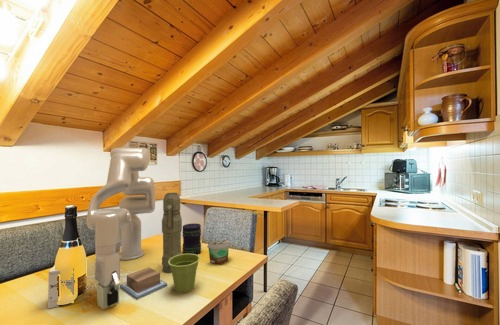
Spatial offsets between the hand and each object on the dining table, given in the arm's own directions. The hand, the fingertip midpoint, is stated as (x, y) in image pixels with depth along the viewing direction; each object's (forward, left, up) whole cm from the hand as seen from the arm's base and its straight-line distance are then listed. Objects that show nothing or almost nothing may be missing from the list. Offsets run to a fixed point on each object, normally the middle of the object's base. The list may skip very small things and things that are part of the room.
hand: (108, 299), depth 80 cm
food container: (+7, +48, -1) cm, 49 cm away
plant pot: (+13, +22, -1) cm, 26 cm away
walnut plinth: (-1, +13, -1) cm, 13 cm away
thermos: (-6, +29, -1) cm, 30 cm away
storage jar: (-15, +47, -1) cm, 49 cm away
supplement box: (-14, -9, -1) cm, 17 cm away
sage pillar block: (0, 0, -1) cm, 1 cm away
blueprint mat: (-1, +13, -1) cm, 13 cm away
